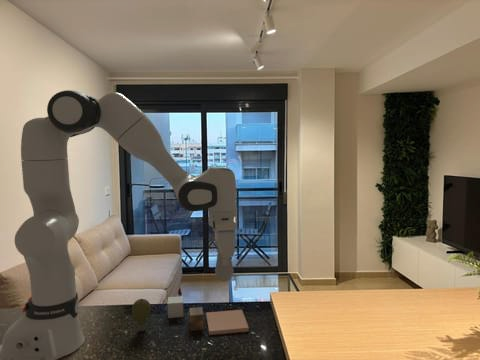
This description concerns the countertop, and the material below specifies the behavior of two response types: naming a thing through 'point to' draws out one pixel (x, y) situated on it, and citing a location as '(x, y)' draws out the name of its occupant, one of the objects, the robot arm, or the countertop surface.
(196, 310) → the walnut block
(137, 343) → the countertop surface
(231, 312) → the terracotta tile
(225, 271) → the salt shaker
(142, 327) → the light bulb
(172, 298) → the pale grey block
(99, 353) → the countertop surface
